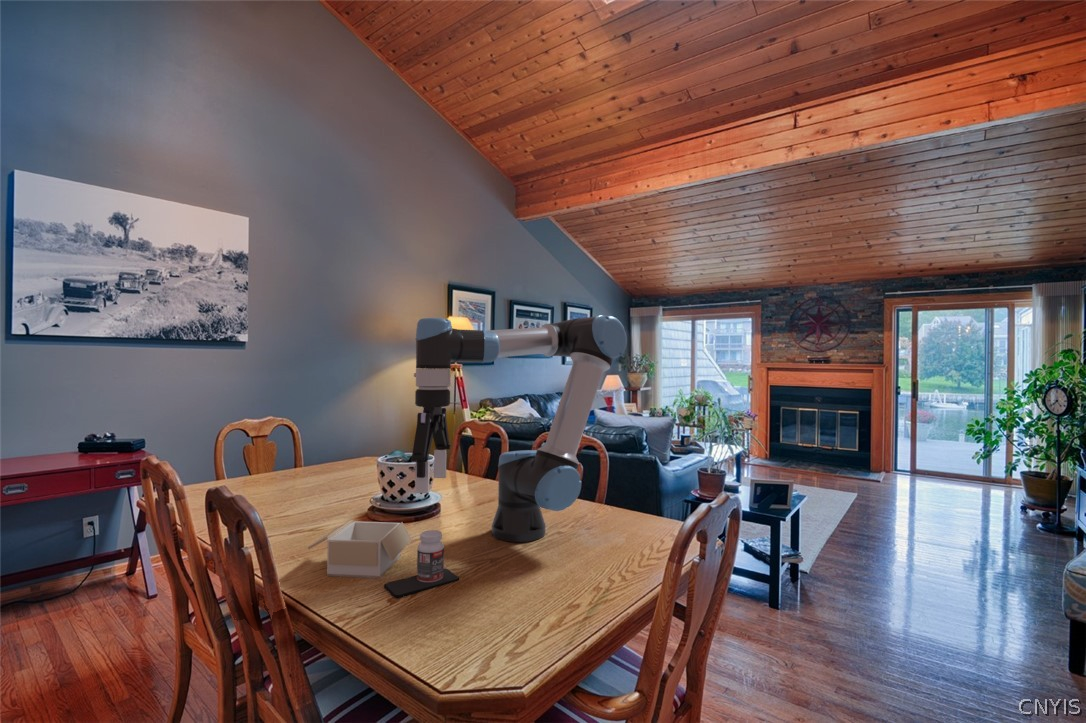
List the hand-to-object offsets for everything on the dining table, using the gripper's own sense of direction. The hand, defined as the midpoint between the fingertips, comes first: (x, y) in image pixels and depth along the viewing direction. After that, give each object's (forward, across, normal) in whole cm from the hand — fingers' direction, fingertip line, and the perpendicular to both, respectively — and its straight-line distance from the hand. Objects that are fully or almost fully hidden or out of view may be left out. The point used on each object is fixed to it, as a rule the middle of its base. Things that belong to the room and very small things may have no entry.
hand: (431, 484), depth 108 cm
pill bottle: (+21, 0, 0) cm, 21 cm away
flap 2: (+12, -6, -11) cm, 17 cm away
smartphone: (+21, +2, -1) cm, 21 cm away
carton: (+21, -6, -17) cm, 27 cm away
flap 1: (+12, -6, -23) cm, 27 cm away
